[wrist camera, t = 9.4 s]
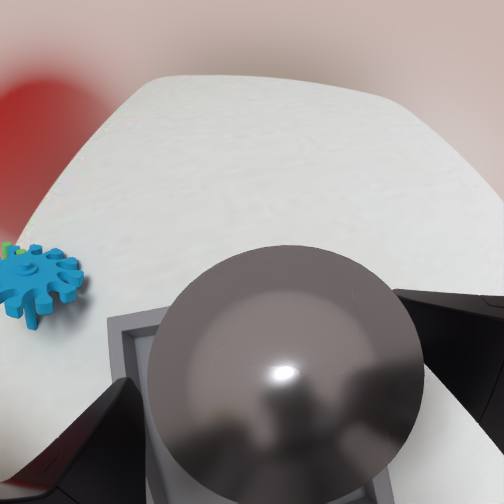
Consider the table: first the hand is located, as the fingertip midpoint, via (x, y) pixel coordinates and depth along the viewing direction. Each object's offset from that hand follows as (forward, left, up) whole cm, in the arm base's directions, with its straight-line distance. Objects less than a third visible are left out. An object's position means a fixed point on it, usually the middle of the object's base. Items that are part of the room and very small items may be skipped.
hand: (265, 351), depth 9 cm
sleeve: (-1, 0, -8) cm, 9 cm away
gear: (+9, +17, -9) cm, 21 cm away
